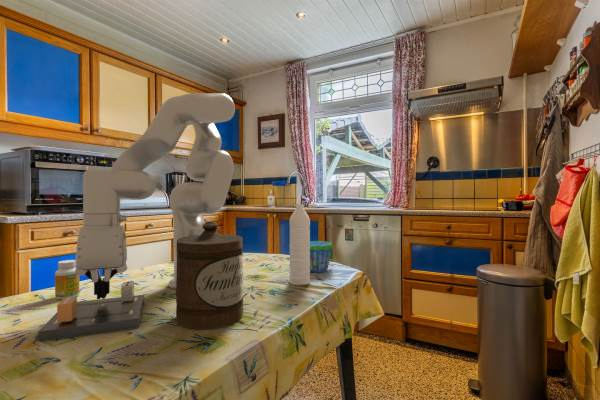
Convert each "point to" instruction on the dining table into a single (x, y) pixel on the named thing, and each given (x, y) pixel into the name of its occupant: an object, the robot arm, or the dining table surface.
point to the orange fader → (67, 310)
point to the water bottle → (300, 246)
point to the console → (96, 318)
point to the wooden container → (209, 279)
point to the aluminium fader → (127, 291)
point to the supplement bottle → (66, 280)
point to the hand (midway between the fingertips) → (101, 297)
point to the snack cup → (320, 256)
